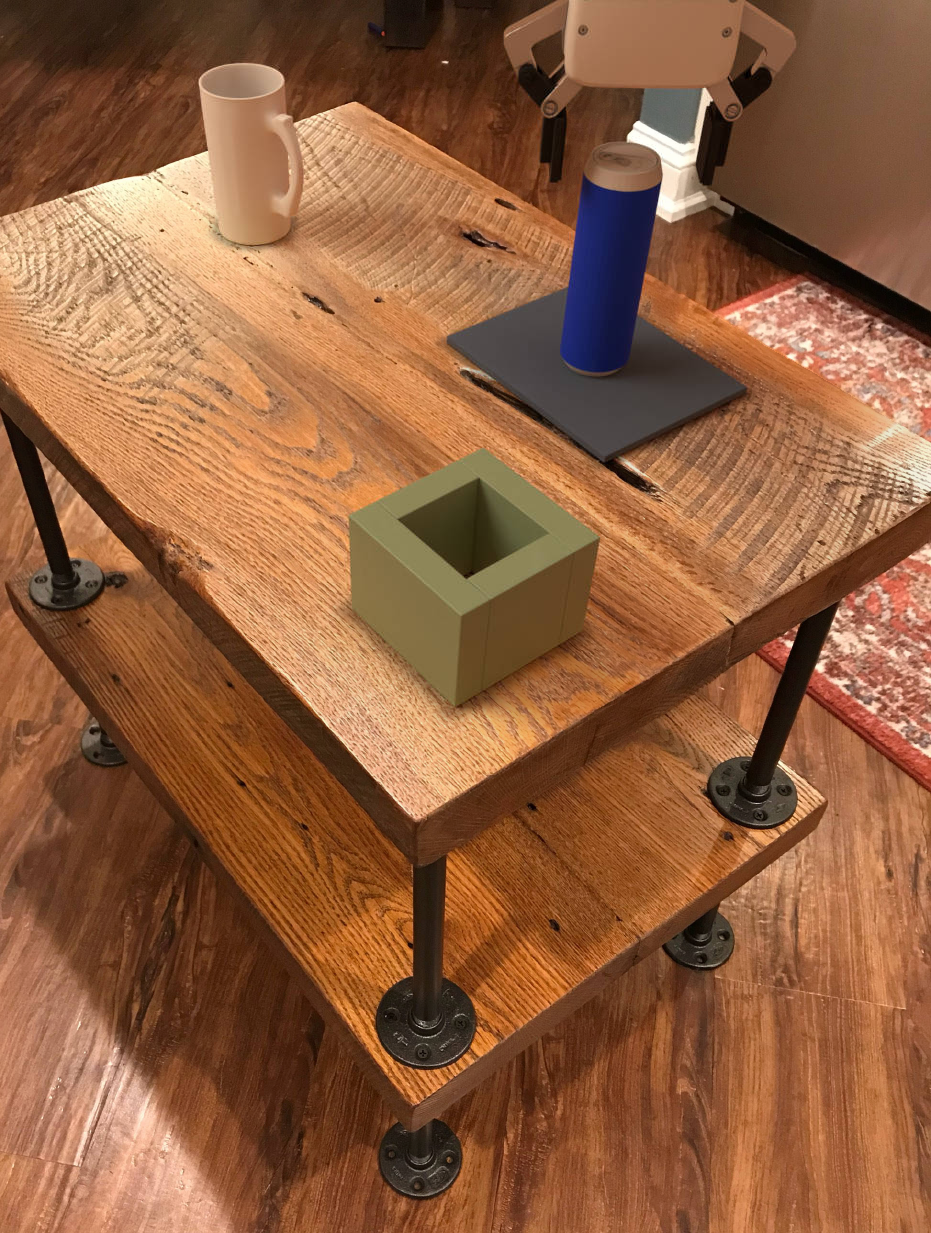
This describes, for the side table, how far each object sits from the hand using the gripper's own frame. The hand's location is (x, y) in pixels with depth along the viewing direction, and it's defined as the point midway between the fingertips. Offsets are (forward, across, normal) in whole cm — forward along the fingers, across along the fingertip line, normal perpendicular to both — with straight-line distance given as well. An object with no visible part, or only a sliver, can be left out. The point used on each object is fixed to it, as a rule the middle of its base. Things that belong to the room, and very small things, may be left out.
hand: (628, 174), depth 75 cm
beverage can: (+14, 0, -1) cm, 14 cm away
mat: (+15, 0, -1) cm, 15 cm away
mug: (+14, +28, -19) cm, 36 cm away
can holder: (+15, +10, +26) cm, 32 cm away
